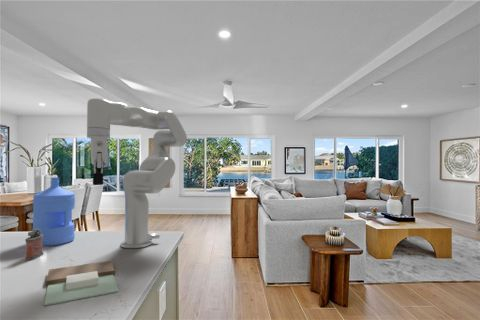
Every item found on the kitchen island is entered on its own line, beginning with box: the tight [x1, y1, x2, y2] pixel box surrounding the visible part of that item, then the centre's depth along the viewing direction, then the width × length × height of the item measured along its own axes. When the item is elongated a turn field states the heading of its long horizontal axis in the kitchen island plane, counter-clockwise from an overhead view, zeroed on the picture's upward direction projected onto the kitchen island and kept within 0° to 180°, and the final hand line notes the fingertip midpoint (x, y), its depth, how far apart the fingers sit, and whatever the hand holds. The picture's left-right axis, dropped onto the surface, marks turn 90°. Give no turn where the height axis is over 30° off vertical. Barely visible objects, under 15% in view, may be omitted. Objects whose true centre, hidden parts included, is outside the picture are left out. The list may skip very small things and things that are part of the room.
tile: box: [66, 271, 99, 290], centre depth 85 cm, size 8×6×2 cm
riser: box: [45, 260, 116, 287], centre depth 92 cm, size 18×10×2 cm, turn 119°
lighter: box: [25, 229, 44, 262], centre depth 109 cm, size 8×3×10 cm, turn 5°
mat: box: [43, 274, 119, 307], centre depth 82 cm, size 17×13×1 cm
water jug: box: [32, 177, 76, 247], centre depth 130 cm, size 16×16×28 cm
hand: (97, 184), depth 106 cm, fingers closed
